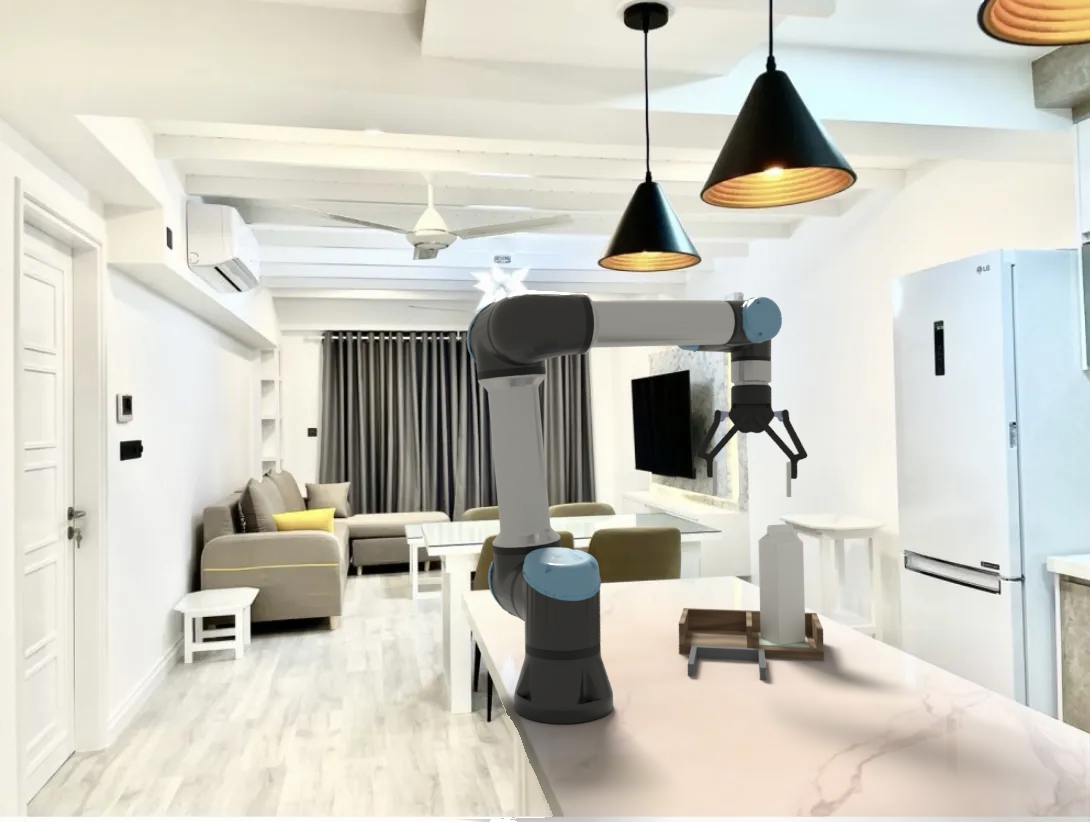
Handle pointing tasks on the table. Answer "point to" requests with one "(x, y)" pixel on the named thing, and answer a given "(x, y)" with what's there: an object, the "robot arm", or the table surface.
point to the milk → (781, 585)
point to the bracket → (727, 656)
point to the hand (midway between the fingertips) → (751, 496)
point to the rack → (745, 633)
